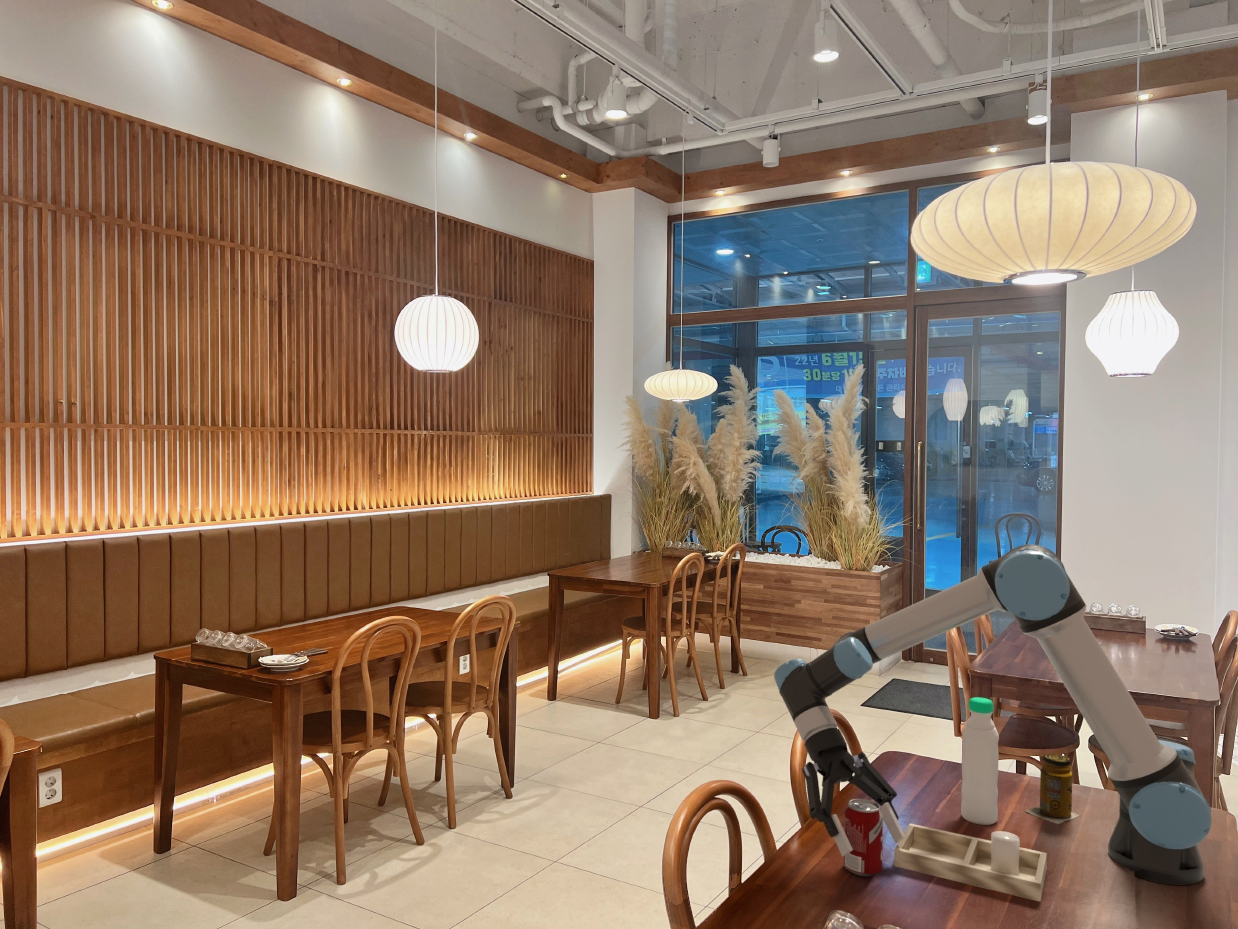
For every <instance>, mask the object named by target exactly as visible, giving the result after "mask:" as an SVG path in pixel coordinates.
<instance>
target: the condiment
mask: <svg viewBox="0 0 1238 929" xmlns="http://www.w3.org/2000/svg"><path fill="white" fill-rule="evenodd" d="M1071 763H1072V762H1071V758H1069V757H1067V756H1065V755H1064V754H1063V755H1062V754H1057V753H1046V754H1044V755H1042V764H1041V765H1042V766H1041V768H1040V777H1039V778H1040V779H1039V782H1040V784H1039V787H1040V788H1039V806H1035V807H1033V808H1030V809H1026V810H1025V812H1026V813H1028V814H1031V815H1032V816H1035V817H1038V818H1041V819H1043V820H1044V821H1048V822H1051V823H1053V824H1056V825H1059V824H1063V823H1064V822H1066V821H1070V820H1072V819H1075V818H1078V817H1079V816H1080V815H1081V814H1078V813H1076V812H1073V811H1072V808H1073V806H1072V805H1073V803H1072V802H1073V800H1072V799H1073V797H1072V796H1073V772H1072V771H1071V769H1072V768H1071V767H1072V766H1071Z"/></svg>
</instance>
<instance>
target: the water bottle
mask: <svg viewBox="0 0 1238 929" xmlns="http://www.w3.org/2000/svg"><path fill="white" fill-rule="evenodd" d="M968 711H969V712H970V717H969V718H968V719H967V720H966V723H965V725H964V727H963V729H962V734H961V735H962V738H963V739H962V748H961V750H962V751H961V753H962V754H961V774H962V775H961V777H962V783H961V788H960V790H961V792H960V793H961V805H960V815H961V816H962V818H963V819H964V820H965V821H967V822H969V823H971V824H975V825H981V826H989V825H993V824H995V823H997V821H998V818H999V817H998V816H999V813H998V812H999V811H998V810H999V809H998V799H999V792H998V791H999V790H998V779H999V745H998V744H999V741H1000V737H999V736H1000V735H999V732H998V730H997V728H996V726H995V722H994V720H992V714H994V713H993V712H994V702H993V701H992V700H991V699H989V698H985V697H979V696H978V697H971V698H970V699H968Z"/></svg>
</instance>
